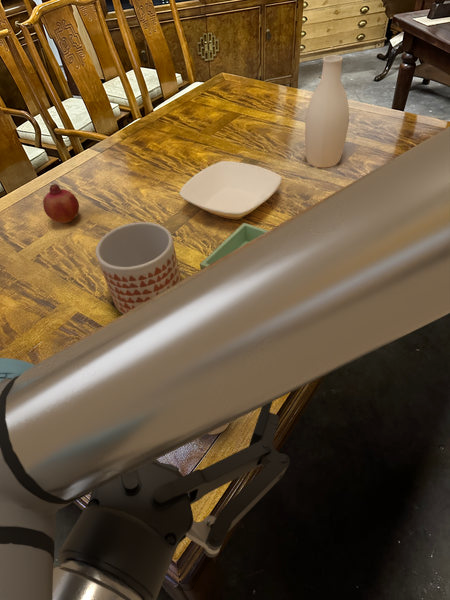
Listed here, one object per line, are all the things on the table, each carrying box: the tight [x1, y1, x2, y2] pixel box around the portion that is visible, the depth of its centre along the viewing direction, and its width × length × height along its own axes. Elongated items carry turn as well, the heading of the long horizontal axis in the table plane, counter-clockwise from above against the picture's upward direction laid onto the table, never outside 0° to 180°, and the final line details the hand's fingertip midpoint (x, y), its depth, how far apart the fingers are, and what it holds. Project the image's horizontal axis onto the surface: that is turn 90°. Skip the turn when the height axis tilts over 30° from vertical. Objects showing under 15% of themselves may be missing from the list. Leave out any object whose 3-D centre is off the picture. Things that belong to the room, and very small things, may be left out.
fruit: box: [42, 183, 80, 224], centre depth 100 cm, size 8×8×10 cm
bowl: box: [178, 160, 283, 220], centre depth 102 cm, size 22×22×5 cm
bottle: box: [304, 54, 350, 169], centre depth 106 cm, size 11×11×25 cm
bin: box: [199, 222, 268, 270], centre depth 83 cm, size 16×16×5 cm
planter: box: [95, 221, 182, 315], centre depth 78 cm, size 14×14×13 cm
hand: (211, 364), depth 44 cm, fingers open, 13 cm apart
